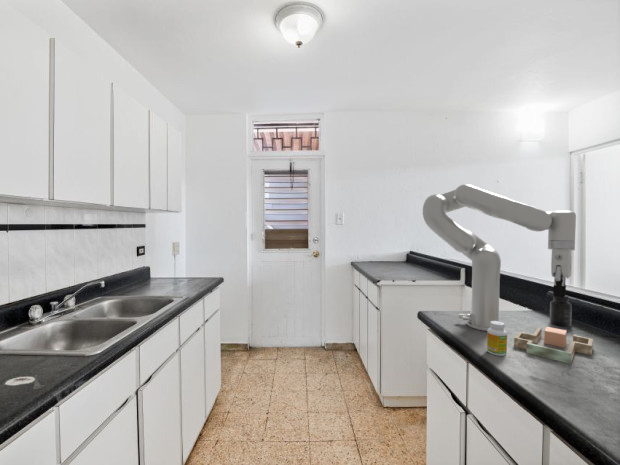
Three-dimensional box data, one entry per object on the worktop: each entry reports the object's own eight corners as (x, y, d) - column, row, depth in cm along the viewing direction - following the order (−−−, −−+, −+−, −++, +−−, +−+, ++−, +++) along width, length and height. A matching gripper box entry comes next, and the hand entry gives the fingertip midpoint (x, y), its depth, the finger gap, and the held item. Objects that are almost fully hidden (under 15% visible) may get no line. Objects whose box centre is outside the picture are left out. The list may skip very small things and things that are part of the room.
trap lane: (511, 349, 102) (512, 340, 102) (525, 332, 117) (525, 324, 117) (589, 368, 89) (589, 358, 89) (592, 346, 104) (593, 338, 104)
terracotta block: (544, 343, 107) (544, 330, 107) (546, 339, 111) (546, 326, 111) (564, 348, 104) (565, 334, 103) (566, 343, 108) (566, 330, 107)
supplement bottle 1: (499, 357, 96) (500, 326, 96) (483, 351, 101) (484, 321, 100) (510, 354, 99) (511, 324, 98) (493, 347, 103) (494, 319, 103)
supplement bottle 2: (567, 323, 128) (569, 294, 128) (573, 328, 122) (574, 298, 121) (547, 320, 131) (548, 292, 130) (552, 325, 125) (553, 296, 124)
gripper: (572, 247, 103) (570, 302, 104) (576, 244, 114) (575, 294, 115) (544, 246, 108) (542, 298, 109) (551, 243, 120) (549, 290, 120)
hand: (559, 295), depth 112 cm, fingers closed
